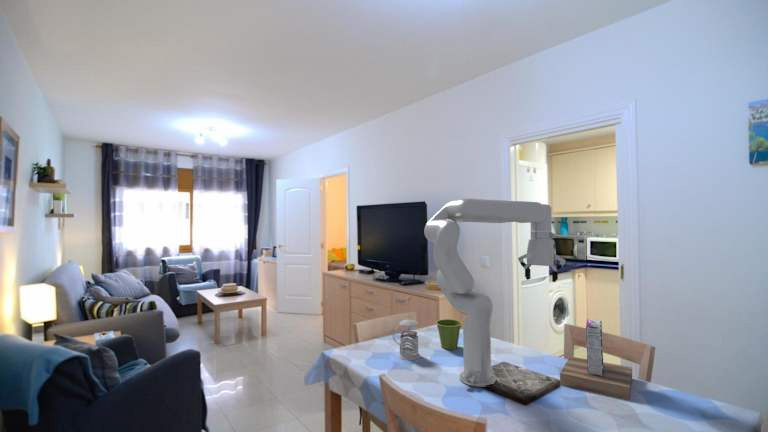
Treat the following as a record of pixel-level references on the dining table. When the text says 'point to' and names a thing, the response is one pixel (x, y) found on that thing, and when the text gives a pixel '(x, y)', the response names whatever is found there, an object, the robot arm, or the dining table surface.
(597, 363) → the candy bar box
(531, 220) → the robot arm
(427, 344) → the dining table surface
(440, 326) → the plant pot
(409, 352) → the french press
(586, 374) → the walnut stand
